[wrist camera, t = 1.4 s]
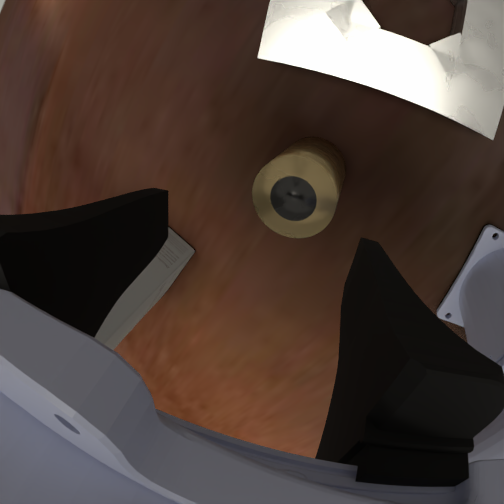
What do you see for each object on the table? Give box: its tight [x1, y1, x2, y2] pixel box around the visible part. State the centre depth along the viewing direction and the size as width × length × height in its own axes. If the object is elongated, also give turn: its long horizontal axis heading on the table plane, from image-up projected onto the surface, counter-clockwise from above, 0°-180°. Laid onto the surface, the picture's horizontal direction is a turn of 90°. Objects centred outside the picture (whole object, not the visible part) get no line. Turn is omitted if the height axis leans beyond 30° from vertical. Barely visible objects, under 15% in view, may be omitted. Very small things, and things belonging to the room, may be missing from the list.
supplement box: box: [95, 227, 195, 350], centre depth 23 cm, size 7×7×13 cm
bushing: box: [252, 137, 346, 238], centre depth 17 cm, size 4×4×6 cm
